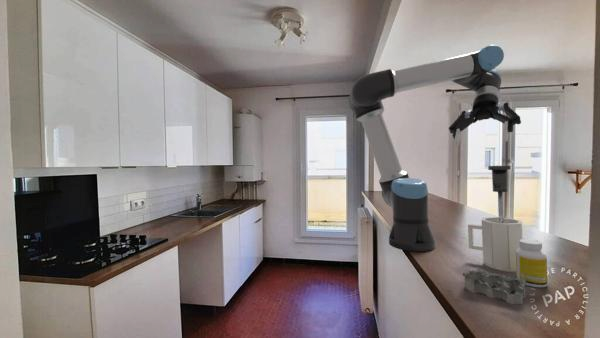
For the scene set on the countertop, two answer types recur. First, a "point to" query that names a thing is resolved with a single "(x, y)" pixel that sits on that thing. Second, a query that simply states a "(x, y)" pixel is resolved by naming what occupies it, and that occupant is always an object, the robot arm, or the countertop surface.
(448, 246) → the countertop surface
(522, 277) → the supplement bottle
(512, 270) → the white paneled mug
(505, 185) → the plunger
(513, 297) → the egg carton
